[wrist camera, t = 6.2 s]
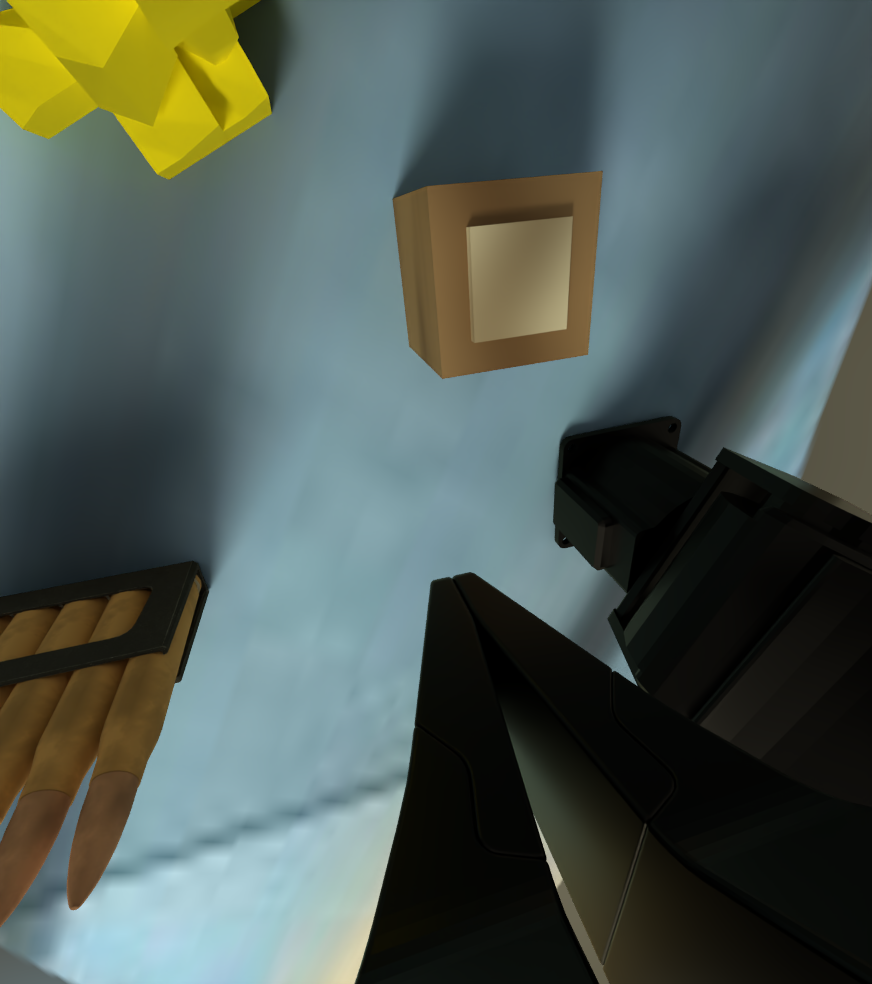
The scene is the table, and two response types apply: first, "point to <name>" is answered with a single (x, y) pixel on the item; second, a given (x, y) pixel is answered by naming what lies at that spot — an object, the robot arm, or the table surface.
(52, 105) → the crumpled paper
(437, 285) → the walnut tagged block
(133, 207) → the table surface
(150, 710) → the ammunition clip
